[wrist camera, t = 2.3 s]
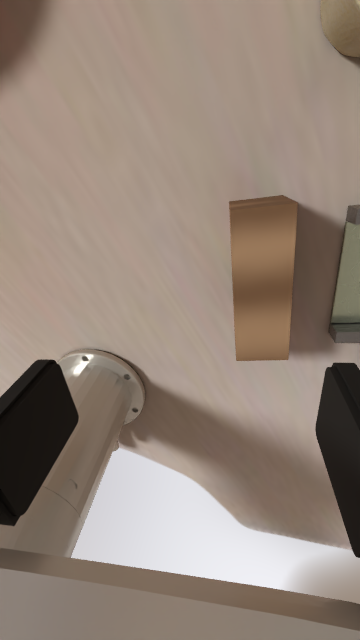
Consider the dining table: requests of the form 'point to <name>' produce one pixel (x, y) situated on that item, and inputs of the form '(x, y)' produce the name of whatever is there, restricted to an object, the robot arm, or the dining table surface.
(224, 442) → the dining table surface
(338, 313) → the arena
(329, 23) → the flower pot
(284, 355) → the walnut block
